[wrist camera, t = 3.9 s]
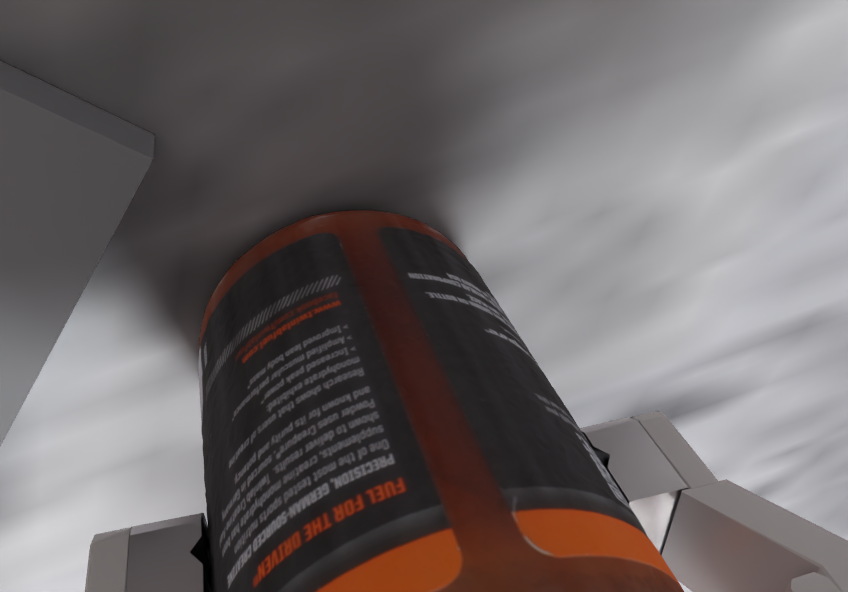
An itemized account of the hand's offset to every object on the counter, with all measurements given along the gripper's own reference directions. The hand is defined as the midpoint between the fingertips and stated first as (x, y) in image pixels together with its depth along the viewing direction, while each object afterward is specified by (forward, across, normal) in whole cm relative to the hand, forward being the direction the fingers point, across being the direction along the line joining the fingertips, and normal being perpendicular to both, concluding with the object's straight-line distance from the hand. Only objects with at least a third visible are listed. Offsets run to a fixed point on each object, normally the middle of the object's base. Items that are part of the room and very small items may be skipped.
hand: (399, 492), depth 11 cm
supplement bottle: (+5, 0, 0) cm, 5 cm away
